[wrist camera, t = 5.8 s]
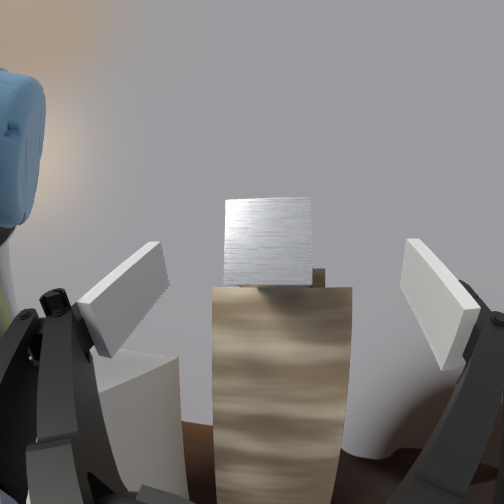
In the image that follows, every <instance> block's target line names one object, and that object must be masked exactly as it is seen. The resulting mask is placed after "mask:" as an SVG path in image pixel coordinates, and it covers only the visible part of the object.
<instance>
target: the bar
mask: <svg viewBox="0 0 504 504" xmlns="http://www.w3.org/2000/svg"><path fill="white" fill-rule="evenodd" d="M225 218H226V219H225V247H224V284H227V285H236V286H245V287H254V288H308V287H310V286H311V285H312V227H311V226H312V225H311V198H310V197H295V198H294V197H291V198H258V199H235V200H226V216H225Z"/></svg>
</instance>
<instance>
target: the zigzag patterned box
mask: <svg viewBox="0 0 504 504" xmlns="http://www.w3.org/2000/svg"><path fill="white" fill-rule="evenodd" d="M212 294H213V295H212V297H213V298H212V391H213V392H212V394H213V395H212V397H213V434H214V459H215V479H216V495H217V504H330V502H331V497H332V493H333V488H334V483H335V478H336V472H337V467H338V461H339V455H340V449H341V442H342V435H343V428H344V420H345V412H346V402H347V392H348V381H349V368H350V353H351V331H352V330H351V329H352V287H338V288H325V269H312V285H311V286H310V287H308V288H254V287H245V286H240V287H239V288H238V287H213V292H212Z"/></svg>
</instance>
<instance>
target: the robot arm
mask: <svg viewBox="0 0 504 504" xmlns="http://www.w3.org/2000/svg"><path fill="white" fill-rule="evenodd" d="M45 116H46V103H45V95H44V91H43V88H42V86H41V84H40V83H39V82H38V80H36V79H35V78H33V77H31V76H28V75H23V74H17V73H12V72H8V71H7V70H5V69H3V68H0V504H26V500H27V496H28V490H29V497H30V504H196V503H194V502H192V501H190V500H188V499H186V498H184V497H182V496H180V495H176V494H173V493H169V492H166V491H162V490H159V489H156V488H152V487H149V486H146V485H143V484H142V485H141V487H140V490H139V492H137V491H128V490H127V488H126V487H125V485H124V484H123V482H122V480H121V478H120V475H119V472H118V469H117V466H116V463H115V460H114V456H113V453H112V449H111V446H110V442H109V438H108V434H107V430H106V426H105V422H104V418H103V413H102V409H101V404H100V399H99V394H98V388H97V382H96V376H95V370H94V363H93V356H92V354H91V352H90V349H91V348H92V347H93V345H94V346H95V348H96V351H97V353H98V355H99V356H103V357H107V358H113V356H114V355H115V354H116V353H117V351H118V350H119V349H120V347H121V346H122V345H123V343H124V342H125V341H126V339H127V338H128V337H129V336H130V334H131V333H132V332H133V330H134V329H135V328H136V327H137V325H138V324H139V323H140V321H141V320H142V319H143V318H144V317H145V315H146V314H147V313H148V312H149V310H150V309H151V308H152V307H153V305H154V304H155V303H156V302H157V300H158V299H159V298H160V297H161V295H162V294H163V293H164V292H165V290H166V289H167V288H168V287H169V286H170V284H169V280H168V275H167V270H166V266H165V261H164V256H163V250H162V246H161V242H148V243H147V244H146V245H144V246H143V247H142V248H141V249H139V250H138V251H137V252H136V253H134V254H133V255H132V256H131V257H129V258H128V259H127V260H126V261H124V262H123V263H122V264H121V265H120V266H118V267H117V268H116V269H115V270H114V271H112V272H111V273H110V274H108V275H107V276H106V277H105V278H104V279H103V280H101V281H100V282H99V283H98V284H97V285H95V286H94V287H93V288H92V289H91V290H90V291H88V292H87V293H86V294H85V295H84V296H83V297H81V299H79V300H78V301H77V302H76V303H75V304H74V305H72V306H71V305H70V303H69V300H68V297H67V294H66V292H65V290H64V289H62V288H57V289H53V290H51V291H48V292H47V293H45V294H43V295H42V296H41V297H40V299H39V300H40V303H41V305H42V308H43V310H44V312H45V315H46V318H39V316H38V314H37V312H36V310H35V309H33V308H31V309H25V310H22V311H21V312H20V311H19V309H17V307H16V302H15V296H14V290H13V283H12V276H11V268H10V258H9V247H8V240H9V239H10V237H11V236H12V234H13V233H14V231H15V229H16V227H17V225H21V224H23V223H24V222H25V221H26V220H27V219H28V217H29V215H30V212H31V209H32V206H33V202H34V198H35V192H36V188H37V182H38V175H39V163H40V158H41V154H42V147H43V139H44V129H45ZM400 288H401V289H402V292H403V293H404V295H405V297H406V299H407V301H408V303H409V304H410V306H411V308H412V310H413V312H414V314H415V316H416V318H417V320H418V322H419V324H420V326H421V328H422V330H423V332H424V334H425V336H426V338H427V340H428V342H429V345H430V347H431V349H432V351H433V353H434V355H435V358H436V360H437V362H438V364H439V367H440V369H441V371H443V370H449V369H455V368H457V367H458V365H459V363H460V361H461V359H462V356H463V357H464V359H465V361H466V365H465V367H464V369H463V371H462V373H461V375H460V377H459V379H458V381H457V386H456V388H455V390H454V392H453V395H452V397H451V399H450V401H449V403H448V405H447V407H446V409H445V411H444V413H443V415H442V417H441V419H440V421H439V422H438V424H437V426H436V428H435V430H434V432H433V433H432V435H431V437H430V439H429V440H428V442H427V444H426V445H425V447H424V449H423V450H422V452H421V453H420V455H419V457H418V458H417V460H416V461H415V463H414V464H413V466H412V467H411V469H410V470H409V472H408V473H407V474H406V476H405V477H404V479H403V480H402V481H401V483H400V484H399V485H398V487H397V488H396V489H395V491H394V492H393V493H392V495H391V496H390V497H389V498H388V500H387V501H386V502H385V503H384V504H467V500H466V499H465V498H464V495H465V492H466V490H467V488H468V486H469V484H470V482H471V480H472V478H473V476H474V474H475V472H476V469H477V467H478V465H479V462H480V460H481V457H482V455H483V452H484V450H485V447H486V445H487V442H488V439H489V437H490V434H491V431H492V428H493V425H494V421H495V418H496V415H497V412H498V408H499V405H500V401H501V397H502V393H503V401H504V314H503V313H501V312H497V311H493V312H492V311H490V309H489V308H488V307H487V306H486V305H485V303H484V302H483V301H482V300H481V299H480V298H479V296H478V295H477V294H476V293H474V291H473V289H472V288H471V287H470V286H469V285H468V284H466V283H465V282H463V281H461V280H457V279H456V278H455V277H454V275H453V274H452V273H451V272H450V271H449V270H448V269H447V268H446V266H445V265H444V264H443V263H442V262H441V261H440V260H439V259H438V258H437V257H436V256H435V255H434V254H433V253H432V252H431V251H430V249H429V248H428V247H427V246H426V245H425V244H424V243H423V242H422V241H421V240H420V239H406V244H405V253H404V261H403V268H402V274H401V280H400ZM29 357H32V358H31V360H30V358H29ZM503 406H504V402H503ZM502 433H503V434H502V445H501V455H500V463H499V470H498V476H497V482H496V487H495V492H494V497H493V501H492V504H504V407H503V432H502ZM36 439H37V442H36Z"/></svg>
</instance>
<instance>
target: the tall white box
mask: <svg viewBox="0 0 504 504" xmlns="http://www.w3.org/2000/svg"><path fill="white" fill-rule="evenodd" d="M90 352H91V354H92V356H93V363H94V370H95V376H96V382H97V388H98V394H99V399H100V404H101V409H102V413H103V418H104V422H105V426H106V430H107V434H108V438H109V442H110V446H111V449H112V453H113V456H114V460H115V463H116V466H117V469H118V472H119V475H120V478H121V480H122V482H123V484H124V485H125V487H126V488H127V490H128V491H137V492H139V490H140V487H141V485H142V484H143V485H146V486H149V487H152V488H156V489H159V490H162V491H166V492H169V493H173V494H176V495H180V496H182V497H184V498H186V499H188V500H189V494H188V486H187V478H186V469H185V459H184V448H183V437H182V423H181V408H180V389H179V387H180V386H179V358H178V357H173V356H165V355H158V354H152V353H145V352H139V351H133V350H127V349H122V348H120V349H119V350H118V351H117V353H116V354H115V355H114V356H113V358H107V357H103V356H99V355H98V353H97V351H96V348H95V346H93V347H92V348H91V349H90ZM29 358H30V360H31V358H32V357H29ZM36 442H37V439H36ZM26 503H27V504H30V497H29V490H28V496H27V500H26Z"/></svg>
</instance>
